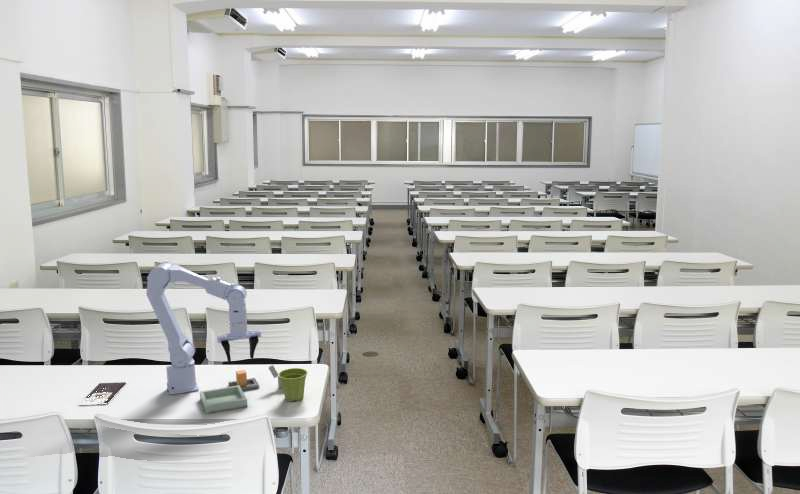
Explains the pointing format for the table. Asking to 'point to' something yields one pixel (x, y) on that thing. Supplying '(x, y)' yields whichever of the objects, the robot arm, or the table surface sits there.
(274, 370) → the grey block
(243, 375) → the pin
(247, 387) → the frame
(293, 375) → the plant pot
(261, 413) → the table surface
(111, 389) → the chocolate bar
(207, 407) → the tray
